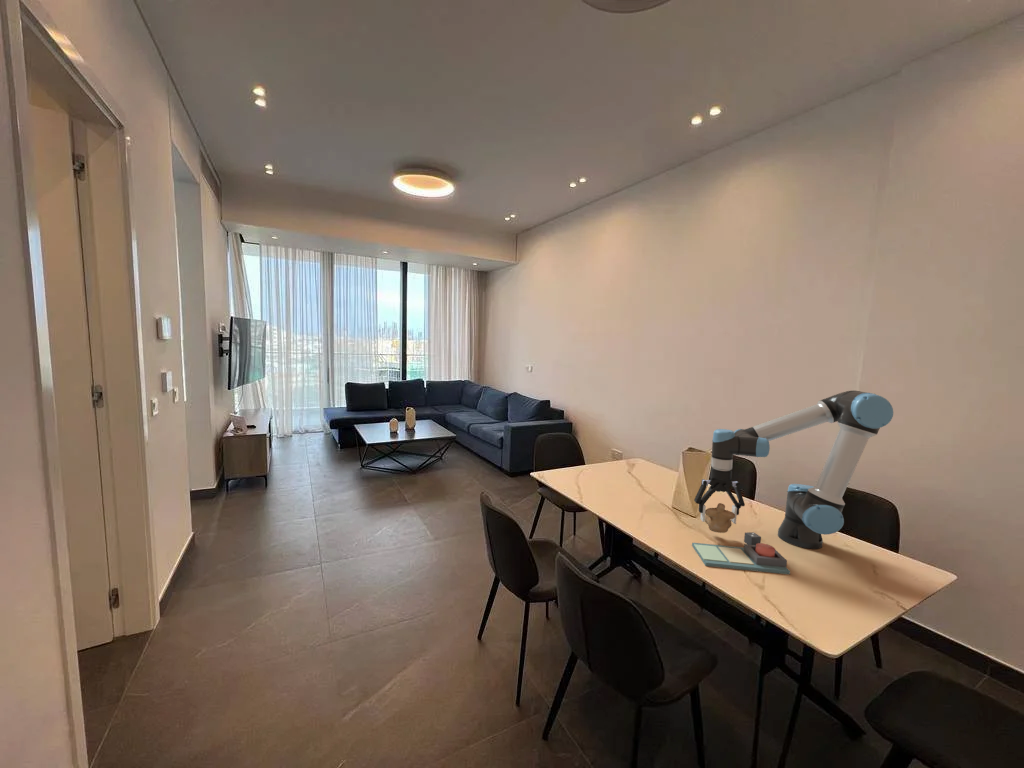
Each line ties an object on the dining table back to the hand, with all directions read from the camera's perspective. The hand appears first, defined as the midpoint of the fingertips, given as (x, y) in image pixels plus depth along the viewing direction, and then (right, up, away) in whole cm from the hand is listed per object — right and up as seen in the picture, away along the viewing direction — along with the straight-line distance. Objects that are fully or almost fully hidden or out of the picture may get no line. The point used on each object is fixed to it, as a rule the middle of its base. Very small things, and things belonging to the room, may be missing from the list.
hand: (717, 521), depth 165 cm
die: (+13, -9, -2) cm, 15 cm away
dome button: (+9, -8, -15) cm, 20 cm away
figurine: (0, -4, 0) cm, 4 cm away
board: (0, -9, -14) cm, 17 cm away
